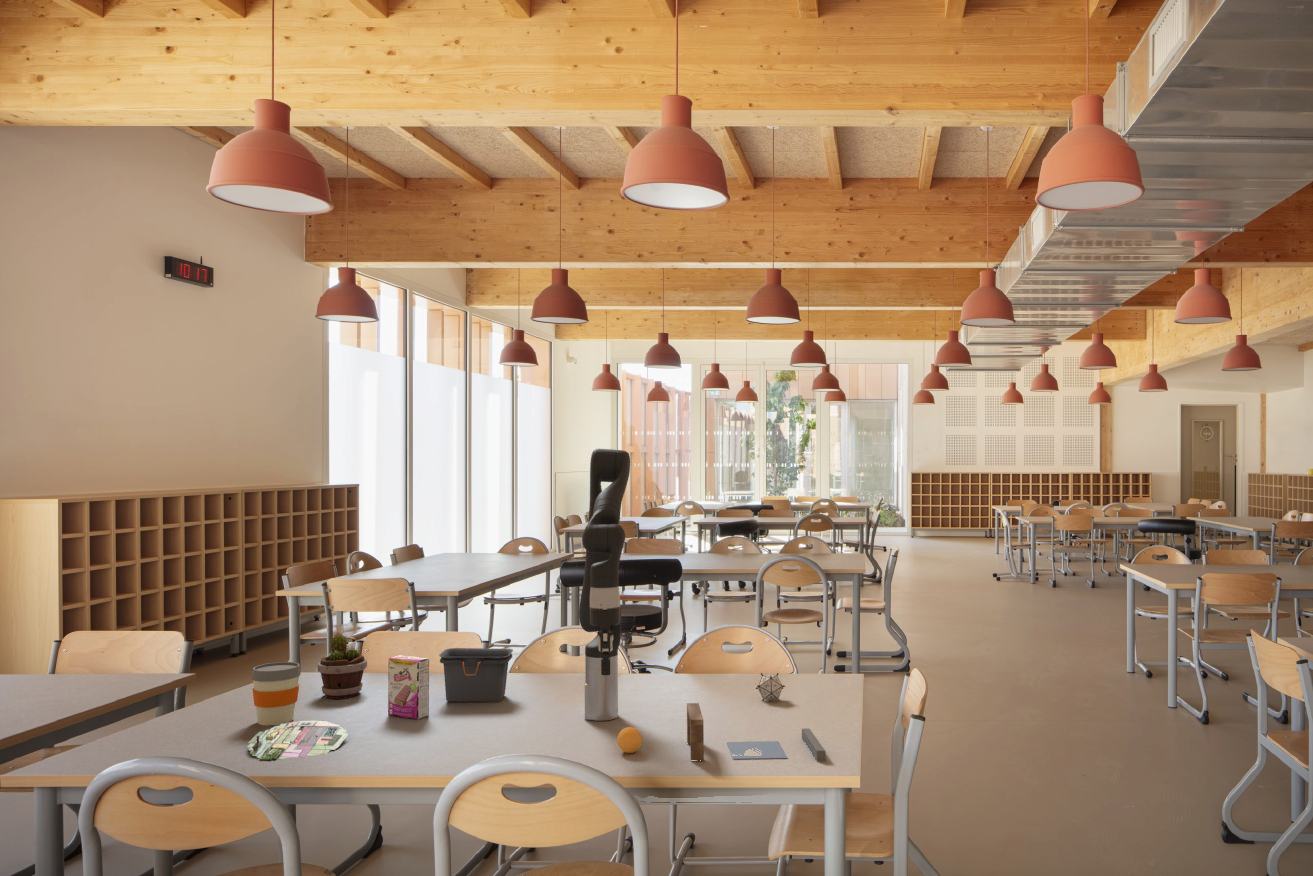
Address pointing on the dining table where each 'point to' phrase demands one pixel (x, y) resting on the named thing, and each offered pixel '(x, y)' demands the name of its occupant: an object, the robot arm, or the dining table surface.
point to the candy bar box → (408, 687)
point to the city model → (297, 740)
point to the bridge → (695, 731)
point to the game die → (770, 687)
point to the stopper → (813, 744)
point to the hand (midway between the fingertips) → (605, 671)
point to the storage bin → (475, 674)
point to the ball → (629, 740)
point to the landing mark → (767, 747)
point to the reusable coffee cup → (275, 691)
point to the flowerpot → (341, 670)
